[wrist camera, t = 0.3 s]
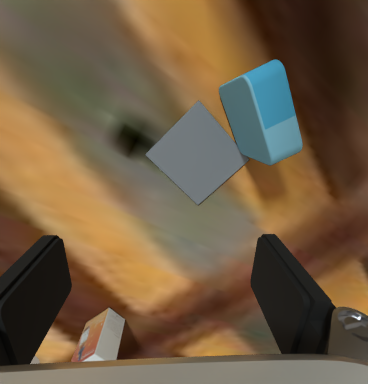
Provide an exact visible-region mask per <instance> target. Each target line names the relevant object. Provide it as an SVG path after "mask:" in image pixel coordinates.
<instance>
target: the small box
mask: <svg viewBox="0 0 368 384" xmlns="http://www.w3.org/2000/svg"><path fill="white" fill-rule="evenodd" d="M124 323H125V319H124V318H122V317H121V316H120V315H118V314H117V313H116V312H114V311H113V310H112V309H110V308H108V309H106V310H105V311H104V312H102V313H101V314H99V315H98V316H96V317H95V318H93V319H92V320H90V321H88V322H87V323H86V325H85V328H84V330H83V333H82V335H81V338H80V340H79V343H78V345H77V348H76V350H75V353H74V355H73V358H72V360H71V362H85V361H106V360H116V359H117V354H118V349H119V345H120V341H121V336H122V332H123V327H124Z"/></svg>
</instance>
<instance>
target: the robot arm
mask: <svg viewBox="0 0 368 384" xmlns="http://www.w3.org/2000/svg"><path fill="white" fill-rule="evenodd" d="M71 287H72V283H71V278H70V273H69V268H68V263H67V258H66V253H65V248H64V243H63V240H62V239H61V238H59V237H58V236H57V235H44V236H42V237H41V238H40V239H39V240H38V241H37V242H36V243H35V244H34V245H33V246H32V247H31V248H30V249H29V250H27V251H26V252H25V253H24V254H23V255H22V256H21V257H20V258H19V259H18V260H17V261H16V262H15V263H14V264H13V265H12V266H11V267H10V268H9V269H8V270H7V271H6V272H5V273H4V274H3V275H2V276H1V277H0V384H368V316H367V315H366V314H364V313H362V312H360V311H358V310H355V309H352V308H348V307H338V308H336V307H335V306H334V305H333V304H332V302H331V300H330V298H329V297H328V296H327V295H326V294H325V293H324V291H323V290H322V289H321V288H320V287H319V285H318V284H317V283H316V282H315V281H314V280H313V278H312V277H311V276H310V275H309V274H308V272H307V271H306V270H305V269H304V268H303V267H302V265H301V264H300V263H299V262H298V261H297V259H296V258H295V257H294V256H293V255H292V253H291V252H290V251H289V250H288V249H287V248H286V246H285V245H284V244H283V243H282V242H281V240H280V239H279V238H278V237H277V236H276V235H275V234H263V235H262V236H261V237H259V238H258V241H257V247H256V252H255V258H254V264H253V269H252V275H251V287H252V290H253V292H254V294H255V296H256V299H257V301H258V303H259V305H260V307H261V310H262V312H263V314H264V316H265V318H266V321H267V323H268V325H269V327H270V329H271V331H272V334H273V336H274V338H275V340H276V342H277V345H278V347H279V349H280V351H281V353H282V354H259V355H231V356H203V357H177V358H152V359H129V360H106V361H85V362H64V363H43V364H30V363H31V361H32V359H33V357H34V356H35V354H36V352H37V350H38V349H39V347H40V345H41V343H42V341H43V340H44V338H45V336H46V334H47V332H48V331H49V329H50V327H51V325H52V323H53V322H54V320H55V318H56V316H57V314H58V313H59V311H60V309H61V307H62V306H63V304H64V302H65V300H66V298H67V297H68V295H69V293H70V291H71Z"/></svg>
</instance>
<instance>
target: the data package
mask: <svg viewBox="0 0 368 384" xmlns="http://www.w3.org/2000/svg"><path fill="white" fill-rule="evenodd" d="M219 94H220V98H221V100H222V103H223V106H224V109H225V112H226V115H227V118H228V120H229V123H230V126H231V129H232V132H233V135H234V137H235V140H236V143H237V146H238V148H239V150H240V152H241V153H242V154H243V155H245V156H248V157H250V158H252V159H255V160H257V161H260V162H262V163H265V164H267V165H273V164H275V163H277V162H279V161H281V160H283V159H286V158H288V157H290V156H292V155H294V154H296V153H298V152H300V151H301V150H302V146H303V144H302V139H301V134H300V130H299V126H298V122H297V118H296V113H295V109H294V105H293V101H292V96H291V92H290V88H289V84H288V80H287V75H286V71H285V68H284V66H283V64H282V63H281V62H280V61H279V60H276V59H275V60H272V61H270V62H268V63H266V64H264V65H261V66H259V67H257V68H255V69H253V70H251V71H249V72H247V73H245V74H243V75H241V76H239V77H237V78H235V79H233V80H231V81H229V82H227V83H225V84H223V85H221V86H220V87H219Z"/></svg>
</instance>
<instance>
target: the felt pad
mask: <svg viewBox="0 0 368 384" xmlns="http://www.w3.org/2000/svg"><path fill="white" fill-rule="evenodd" d="M146 156H147V157H148V158H149V159H150V160H151V161H152V162H153V163H154V164H155V165H157V166H158V167H159V168H160V169H161V170H162V171H163V172H164V173H165V174H166V175H167V176H168V177H169V178H170V179H171V180H172V181H173V182H174V183H175V184H176V185H177V186H178V187H179V188H180V189H182V190H183V191H184V192H185V193H186V194H187V195H188V196H189V197H190V198H191V199H192V200H193V201H194V202H195V203H196V204H197V205H199V204H200V203H201V202H202V201H203V200H204V199H206V198H207V197H208V196H209V195H210V194H211V193H212V192H213V191H215V190H216V189H217V188H218V187H219V186H220V185H221V184H223V183H224V182H225V181H226V180H227V179H228V178H229V177H230V176H232V175H233V174H234V173H235V172H236V171H237V170H238V169H240V168H241V167H242V166H243V165H244V164H245V163H246V162H247V161H249V159H248V157H247V156H245V155H243V154H242V153H241V152H240V150H239V148H238V146H237V145H236V143H235V142H234V141H233V140H232V139H231V138H230V136H229V135H228V134H227V133H226V132H225V130H224V129H223V128H222V127H221V126H220V125H219V123H218V122H217V121H216V120H215V119H214V118H213V116H212V115H211V114H210V113H209V112H208V110H207V109H206V108H205V107H204V106H203V105H202V103H201V102H200V101H198V102H197V103H196V104H195V105H194V106H193V107H192V108H191V109H190V110H189V111H188V112H187V113H186V114H185V115H184V116H183V117H182V118H181V119H180V120H179V121H178V122H177V123H176V124H175V125H174V126H173V127H172V128H171V129H170V130H169V131H168V132H167V133H166V134H165V135H164V136H163V137H162V138H161V139H160V140H159V141H158V142H157V143H156V144H155V145H154V146H153V147H152V148H151V149H150V150H149V151H148V152H147V154H146Z"/></svg>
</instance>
